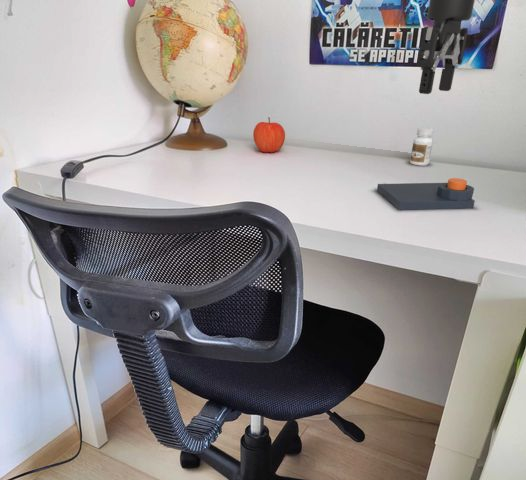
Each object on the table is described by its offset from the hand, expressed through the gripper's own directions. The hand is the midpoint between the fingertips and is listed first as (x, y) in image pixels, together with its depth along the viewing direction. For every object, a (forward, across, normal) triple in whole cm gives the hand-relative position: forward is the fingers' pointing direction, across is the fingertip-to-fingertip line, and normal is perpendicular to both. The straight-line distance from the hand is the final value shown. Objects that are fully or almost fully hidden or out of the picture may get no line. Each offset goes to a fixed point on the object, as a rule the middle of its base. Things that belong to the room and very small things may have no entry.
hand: (434, 92), depth 95 cm
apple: (+17, -1, +41) cm, 44 cm away
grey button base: (+17, -12, -7) cm, 21 cm away
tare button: (+14, -10, -12) cm, 21 cm away
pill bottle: (+17, +15, +7) cm, 24 cm away
